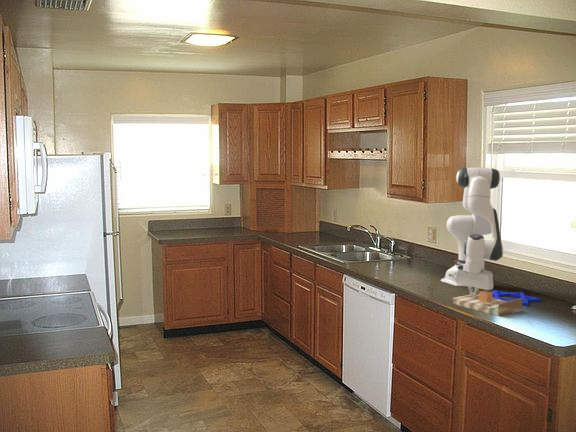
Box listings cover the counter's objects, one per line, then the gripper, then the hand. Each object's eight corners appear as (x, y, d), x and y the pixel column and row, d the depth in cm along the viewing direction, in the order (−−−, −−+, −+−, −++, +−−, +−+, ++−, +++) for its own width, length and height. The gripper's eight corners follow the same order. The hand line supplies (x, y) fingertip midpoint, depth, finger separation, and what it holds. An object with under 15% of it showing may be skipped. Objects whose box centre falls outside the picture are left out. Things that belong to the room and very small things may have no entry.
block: (478, 300, 300) (479, 291, 300) (484, 299, 303) (484, 290, 303) (486, 302, 297) (486, 293, 296) (492, 301, 299) (492, 292, 299)
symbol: (472, 296, 316) (499, 287, 337) (471, 300, 316) (499, 290, 337) (521, 306, 298) (547, 296, 319) (521, 309, 298) (547, 299, 319)
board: (452, 303, 306) (453, 291, 305) (474, 299, 316) (475, 287, 315) (499, 316, 284) (500, 303, 283) (521, 311, 294) (522, 298, 293)
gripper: (496, 270, 298) (495, 299, 299) (462, 264, 314) (461, 290, 316) (488, 272, 294) (487, 300, 295) (454, 265, 310) (452, 292, 312)
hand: (473, 295), depth 306 cm, fingers closed
